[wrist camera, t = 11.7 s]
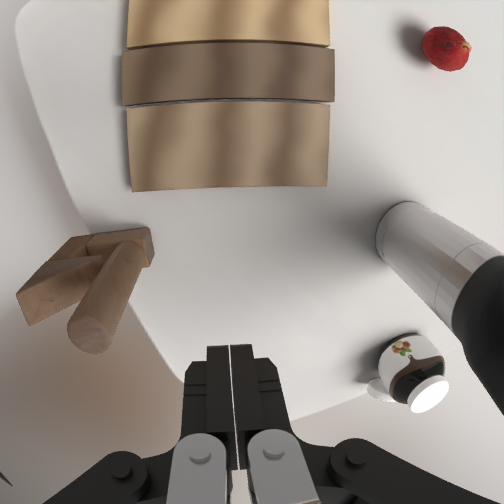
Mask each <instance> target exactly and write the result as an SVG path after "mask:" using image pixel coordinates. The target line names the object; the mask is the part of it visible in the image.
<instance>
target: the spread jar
mask: <svg viewBox="0 0 504 504" xmlns="http://www.w3.org/2000/svg"><path fill="white" fill-rule="evenodd" d="M378 370H379V375H380V378H381V379H373V380H371V381H370V382H369V384H368V387H367V392H368V393H369V394H370V395H371V396H373V397H374V398H376V399H379V400H382V401H386V402H399V403H403V404H408V406H409V407H410V409H411V410H412V412H415V413H420V412H424V411H426V410H428V409H430V408H432V407H433V406H435V405H436V404H437V403H439V402H440V401H441V400H442V399H443V397H444V396H445V395H446V393H447V391H448V389H449V384H448V382H447V381H446V379H445V378H444V374H445V362H444V358H443V356H442V355H441V353H440V352H439V350H438V349H437V348H436V346H435V345H434V344H433V343H432V342H431V341H430V340H429V339H428V338H426V337H425V336H422V335H417V334H406V335H402V336H399V337H397V338H395V339H394V340H392V341H391V342H390V343H389V344H388V345H387V346H386V347H385V348H384V350H383V351H382V353H381V356H380V359H379V364H378Z"/></svg>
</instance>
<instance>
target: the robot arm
mask: <svg viewBox="0 0 504 504" xmlns="http://www.w3.org/2000/svg"><path fill="white" fill-rule="evenodd" d="M376 248H377V251H378V254H379V255H380V257H381V258H382V260H384V261H385V262H386V263H387V264H388V265H389V266H390V267H391V268H392V269H393V270H394V271H395V272H396V273H397V274H398V275H399V276H400V277H401V279H402V280H403V281H404V282H405V283H406V284H407V285H408V286H409V287H410V288H411V289H412V290H413V291H414V292H415V293H416V294H417V295H418V296H419V297H420V298H421V299H422V300H423V301H424V302H425V303H426V304H427V305H428V306H429V307H430V309H431V310H432V311H433V312H434V313H435V314H436V315H437V316H438V317H439V318H440V319H441V320H442V321H443V322H444V323H445V325H446V326H447V327H448V328H449V329H450V330H451V331H452V332H453V333H454V335H455V336H456V337H457V338H458V339H459V340H460V342H461V343H462V346H463V349H464V353H465V356H466V359H467V361H468V363H469V365H470V367H471V368H472V370H473V371H474V373H475V374H476V375H477V377H478V378H479V380H480V381H481V383H482V384H483V386H484V387H485V389H486V390H487V392H488V393H489V395H490V396H491V398H492V399H493V401H494V402H495V404H496V405H497V407H498V408H499V410H500V411H501V412H502V414H503V415H504V254H503V253H501V252H500V251H498V250H497V249H495V248H494V247H492V246H490V245H489V244H487V243H486V242H484V241H482V240H481V239H479V238H478V237H476V236H474V235H473V234H471V233H469V232H468V231H466V230H464V229H463V228H461V227H459V226H458V225H456V224H454V223H452V222H451V221H449V220H447V219H445V218H444V217H442V216H440V215H438V214H437V213H435V212H433V211H431V210H430V209H428V208H426V207H424V206H422V205H420V204H419V203H415V202H408V201H407V202H402V203H400V204H397V205H395V206H394V207H393V208H391V209H390V210H389V211H388V212H387V213H386V214H385V215H384V217H383V218H382V220H381V221H380V224H379V226H378V228H377V233H376ZM230 353H231V371H232V387H233V399H234V411H235V423H236V434H237V444H238V455H239V464H240V470H241V469H247V477H248V489H249V495H250V500H251V504H500V503H497V502H494V501H492V500H490V499H487V498H484V497H482V496H480V495H477V494H475V493H472V492H470V491H468V490H465V489H463V488H461V487H459V486H456V485H454V484H452V483H450V482H447V481H445V480H443V479H441V478H439V477H437V476H435V475H432V474H430V473H428V472H426V471H424V470H422V469H420V468H418V467H416V466H414V465H412V464H410V463H408V462H406V461H404V460H402V459H400V458H398V457H397V456H395V455H393V454H391V453H389V452H387V451H385V450H384V449H382V448H380V447H378V446H376V445H374V444H373V443H371V442H369V441H367V440H364V439H359V438H353V439H347V440H344V441H342V442H340V443H339V444H337V445H336V446H335V447H327V446H317V445H312V444H308V443H306V442H304V441H302V440H301V439H299V438H298V437H297V436H296V435H295V434H294V433H293V431H292V429H291V426H290V422H289V417H288V413H287V409H286V405H285V401H284V396H283V392H282V388H281V384H280V379H279V375H278V371H277V367H276V366H275V365H274V364H273V363H272V362H271V360H270V359H269V358H256V359H254V356H253V349H252V344H240V345H230ZM182 410H183V411H182V425H181V426H182V427H181V437H180V439H179V441H178V443H177V444H176V445H175V446H174V447H173V448H172V449H171V450H169V451H168V452H166V453H164V454H160V455H157V456H153V457H149V458H144V459H141V458H140V457H139V456H137V455H136V454H134V453H131V452H127V451H118V452H113V453H111V454H108V455H107V456H105V457H104V458H103V459H102V460H100V461H99V462H98V463H96V464H95V465H94V466H93V467H91V468H90V469H89V470H87V471H86V472H85V473H83V474H82V475H81V476H80V477H78V478H77V479H76V480H75V481H73V482H72V483H70V484H69V485H68V486H66V487H65V488H63V489H62V490H61V491H59V492H58V493H57V494H55V495H54V496H52V497H51V498H50V499H48V500H47V501H46V502H44V503H43V504H231V491H232V488H233V484H232V473H231V470H238V467H237V453H236V441H235V427H234V416H233V403H232V390H231V377H230V363H229V349H228V345H222V346H207V361H192V363H191V364H190V366H189V367H188V369H187V370H186V372H185V381H184V397H183V409H182Z"/></svg>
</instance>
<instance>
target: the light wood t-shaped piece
mask: <svg viewBox="0 0 504 504" xmlns="http://www.w3.org/2000/svg"><path fill="white" fill-rule="evenodd" d="M153 257H154V248H153V243H152V238H151V232H150V229H149V228H139V229H131V230H123V231H115V232H107V233H99V234H95V235H92V234H91V235H85V236H77V237H71V238H70V239H69V240H68V241H67V242H66V243H65V244H64V245H63V246H62V247H61V248H60V249H59V250H58V251H57V252H56V253H55V254H54V255H53V256H52V257H51V258H50V259H49V260H48V261H46V262H45V263H44V264H43V265H42V266H41V267H40V268H39V269H38V270H37V271H36V272H35V273H34V275H33V276H32V277H31V278H30V279H29V280H28V281H27V282H26V283H25V284H24V286H22V287H21V289H20V290H19V291H18V292H17V293H16V297H17V299H18V302H19V304H20V306H21V309H22V311H23V314H24V316H25V318H26V321H27V323H28V325H29V326H31V325H33V324H35V323H37V322H39V321H41V320H43V319H45V318H47V317H49V316H51V315H53V314H55V313H57V312H59V311H61V310H63V309H65V308H67V307H69V306H71V305H73V304H75V303H77V302H79V301H81V302H80V304H79V305H78V307H77V308H76V310H75V312H74V313H73V315H72V316H71V318H70V320H69V322H68V326H67V332H68V336H69V338H70V339H71V341H72V343H73V344H74V345H75V346H76V347H78V348H79V349H81V350H82V351H84V352H87V353H91V354H98V353H102V352H104V351H105V350H107V349H108V348H109V346H110V345H111V342H112V339H113V337H114V334H115V331H116V329H117V327H118V324H119V321H120V319H121V316H122V314H123V312H124V309H125V307H126V304H127V302H128V299H129V297H130V295H131V292H132V290H133V288H134V285H135V283H136V281H137V278H138V276H139V274H140V272H141V269H142V268H144V267H149V266H150V264H151V261H152V259H153Z"/></svg>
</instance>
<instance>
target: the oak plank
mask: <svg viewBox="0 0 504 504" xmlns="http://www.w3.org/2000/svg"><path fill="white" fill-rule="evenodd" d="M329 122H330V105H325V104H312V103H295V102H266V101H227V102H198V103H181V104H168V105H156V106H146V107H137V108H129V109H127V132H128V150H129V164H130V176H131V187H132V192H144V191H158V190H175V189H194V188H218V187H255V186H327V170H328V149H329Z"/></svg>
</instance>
